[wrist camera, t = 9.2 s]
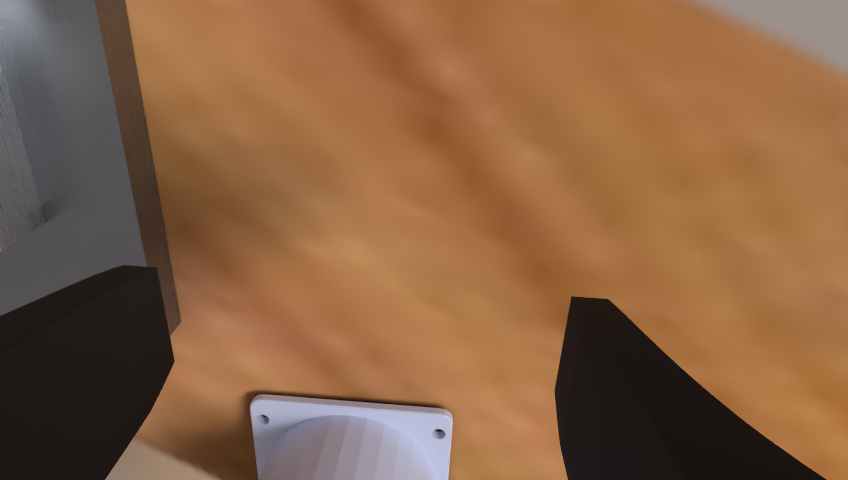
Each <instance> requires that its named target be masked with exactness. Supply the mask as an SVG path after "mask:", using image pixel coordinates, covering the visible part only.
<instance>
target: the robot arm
mask: <svg viewBox="0 0 848 480" xmlns="http://www.w3.org/2000/svg"><path fill="white" fill-rule="evenodd" d="M174 362H175V361H174V356H173V351H172V345H171V340H170V335H169V329H168V324H167V319H166V313H165V308H164V303H163V297H162V292H161V287H160V281H159V276H158V271H157V267H144V266H130V265H122V266H118V267H115V268H112V269H109V270H106V271H104V272H101V273H98V274H96V275H93V276H91V277H88V278H86V279H84V280H81V281H79V282H77V283H74V284H72V285H69V286H67V287H65V288H63V289H60V290H58V291H56V292H53V293H51V294H49V295H47V296H44V297H42V298H40V299H37V300H35V301H33V302H31V303H28V304H26V305H24V306H22V307H19V308H17V309H15V310H12V311H10V312H8V313H6V314H3V315H1V316H0V480H105V479H106V477H107V476H108V474H109V473H110V471H111V470H112V468H113V467H114V465H115V464H116V463H117V461H118V459H119V458H120V457H121V455H122V454H123V452H124V451H125V449H126V448H127V446H128V445H129V443H130V442H131V440H132V439H133V437H134V436H135V434H136V433H137V431H138V430H139V428H140V427H141V425H142V424H143V422H144V421H145V419H146V417H147V416H148V414H149V413H150V411H151V409H152V407H153V405H154V403H155V401H156V399H157V398H158V396H159V394H160V392H161V390H162V388H163V385H164V383H165V381H166V379H167V377H168V375H169V372H170V370H171V368H172V366H173V364H174ZM555 400H556V411H557V421H558V430H559V439H560V446H561V451H562V455H563V460H564V464H565V468H566V473H567V477H568V480H826V479H825V478H823V477H822V476H820V475H819V474H817V473H816V472H814V471H813V470H811V469H810V468H808V467H807V466H805V465H804V464H802V463H801V462H800V461H798V460H797V459H795V458H794V457H793V456H791V455H790V454H788V453H787V452H786V451H784V450H783V449H781V448H780V447H779V446H777V445H776V444H774V443H773V442H772V441H770V440H769V439H767V438H766V437H764V436H763V435H762V434H760V433H759V432H758V431H756V430H755V429H754V428H752V427H751V426H750V425H749V424H747V423H746V422H745V421H743V420H742V419H741V418H739V417H738V416H737V415H736V414H735V413H733V412H732V411H731V410H730V409H728V408H727V407H726V406H725V405H724V404H722V403H721V402H720V401H719V400H718V399H716V398H715V397H714V396H713V395H711V394H710V393H709V392H708V391H707V390H705V389H704V388H703V387H702V386H701V385H700V384H699V383H697V382H696V381H695V380H694V379H693V378H692V377H690V376H689V375H688V374H687V373H686V372H685V371H684V370H683V369H682V368H680V367H679V366H678V365H677V364H676V363H675V362H674V361H673V360H672V359H671V358H670V357H668V356H667V355H666V354H665V353H664V352H663V351H662V350H661V349H660V348H659V347H658V346H657V345H656V344H655V343H654V342H653V341H652V340H651V339H649V338H648V337H647V336H646V335H645V334H644V333H643V332H642V331H641V330H640V329H639V328H638V327H637V326H636V325H635V324H634V323H633V322H632V321H631V320H630V319H629V318H628V317H627V316H626V315H625V314H624V313H623V312H622V311H621V310H619V309H618V308H617V307H616V306H615V305H614V304H613V303H612V302H611V301H610V300H608V299H599V298H584V297H571V302H570V308H569V313H568V319H567V325H566V330H565V336H564V341H563V347H562V353H561V358H560V364H559V369H558V375H557V381H556V386H555ZM250 415H251V423H252V431H253V439H254V448H255V456H256V464H257V472H258V480H448V473H449V461H450V449H451V437H452V424H453V418H452V415H451V413H450V412H449V411H447V410H446V409H441V408H430V407H418V406H405V405H392V404H380V403H367V402H355V401H342V400H330V399H317V398H305V397H292V396H280V395H267V394H260V395H257V396H255V397H254V398H253V400H252V402H251V404H250ZM262 415H266V416H267V417H268V418H266V417H263V416H262ZM436 429H441V430H443V431H441V432H438V431H435V430H436Z"/></svg>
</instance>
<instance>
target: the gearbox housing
mask: <svg viewBox="0 0 848 480" xmlns="http://www.w3.org/2000/svg"><path fill="white" fill-rule="evenodd" d="M122 265H130V266H144V267H157V271H158V276H159V281H160V287H161V292H162V297H163V303H164V308H165V313H166V319H167V324H168V329H169V335H171V334H172V333H173V331H174V330H175V329H176V328H177V326H178V325H179V324H180V322H181V320H180V314H179V308H178V302H177V297H176V291H175V285H174V280H173V274H172V268H171V262H170V257H169V251H168V245H167V239H166V234H165V228H164V222H163V217H162V211H161V205H160V199H159V194H158V188H157V182H156V177H155V171H154V165H153V159H152V154H151V148H150V142H149V137H148V131H147V125H146V119H145V114H144V108H143V102H142V96H141V91H140V85H139V79H138V74H137V68H136V62H135V56H134V51H133V45H132V39H131V34H130V28H129V22H128V16H127V11H126V5H125V0H0V316H1V315H3V314H6V313H8V312H10V311H12V310H15V309H17V308H19V307H22V306H24V305H26V304H28V303H31V302H33V301H35V300H37V299H40V298H42V297H44V296H47V295H49V294H51V293H53V292H56V291H58V290H60V289H63V288H65V287H67V286H69V285H72V284H74V283H77V282H79V281H81V280H84V279H86V278H88V277H91V276H93V275H96V274H98V273H101V272H104V271H106V270H109V269H112V268H115V267H118V266H122Z"/></svg>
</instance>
